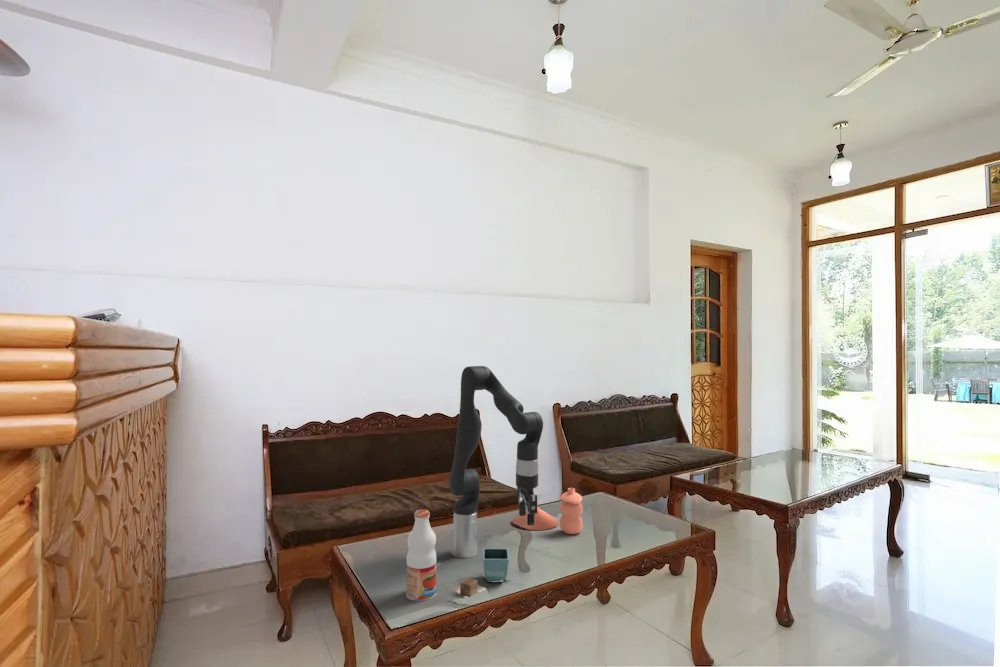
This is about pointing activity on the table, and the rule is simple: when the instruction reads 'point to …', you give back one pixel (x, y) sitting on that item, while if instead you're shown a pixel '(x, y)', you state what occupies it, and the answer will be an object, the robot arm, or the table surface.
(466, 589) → the lid
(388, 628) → the table surface
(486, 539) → the table surface
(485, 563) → the flower pot
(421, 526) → the fruit juice
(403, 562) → the table surface
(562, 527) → the ceramic vessels
